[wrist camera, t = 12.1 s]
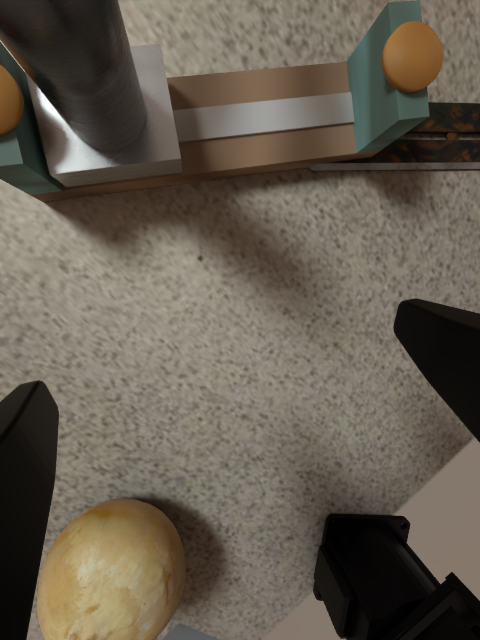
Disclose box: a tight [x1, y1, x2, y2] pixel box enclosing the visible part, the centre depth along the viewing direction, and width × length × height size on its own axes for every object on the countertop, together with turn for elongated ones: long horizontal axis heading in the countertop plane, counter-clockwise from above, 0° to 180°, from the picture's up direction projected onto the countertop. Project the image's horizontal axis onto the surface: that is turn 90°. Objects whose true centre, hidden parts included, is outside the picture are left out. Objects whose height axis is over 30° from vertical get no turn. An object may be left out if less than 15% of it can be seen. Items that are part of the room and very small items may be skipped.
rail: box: [0, 1, 443, 202], centre depth 16 cm, size 21×5×6 cm, turn 100°
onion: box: [37, 499, 186, 640], centre depth 18 cm, size 8×8×7 cm
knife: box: [308, 102, 480, 171], centre depth 21 cm, size 25×6×1 cm, turn 88°
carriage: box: [0, 0, 182, 187], centre depth 10 cm, size 6×5×13 cm
